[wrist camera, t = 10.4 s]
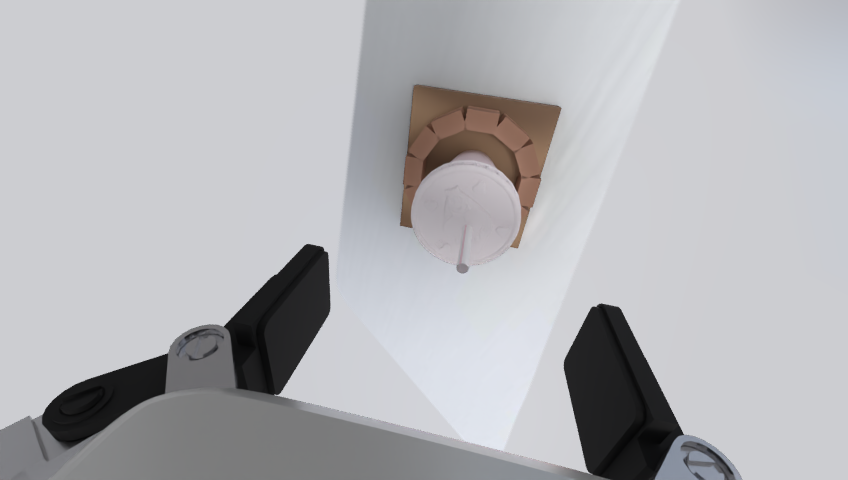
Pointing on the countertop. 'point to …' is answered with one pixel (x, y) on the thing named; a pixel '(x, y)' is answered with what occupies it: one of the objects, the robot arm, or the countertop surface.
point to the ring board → (478, 139)
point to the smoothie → (466, 211)
